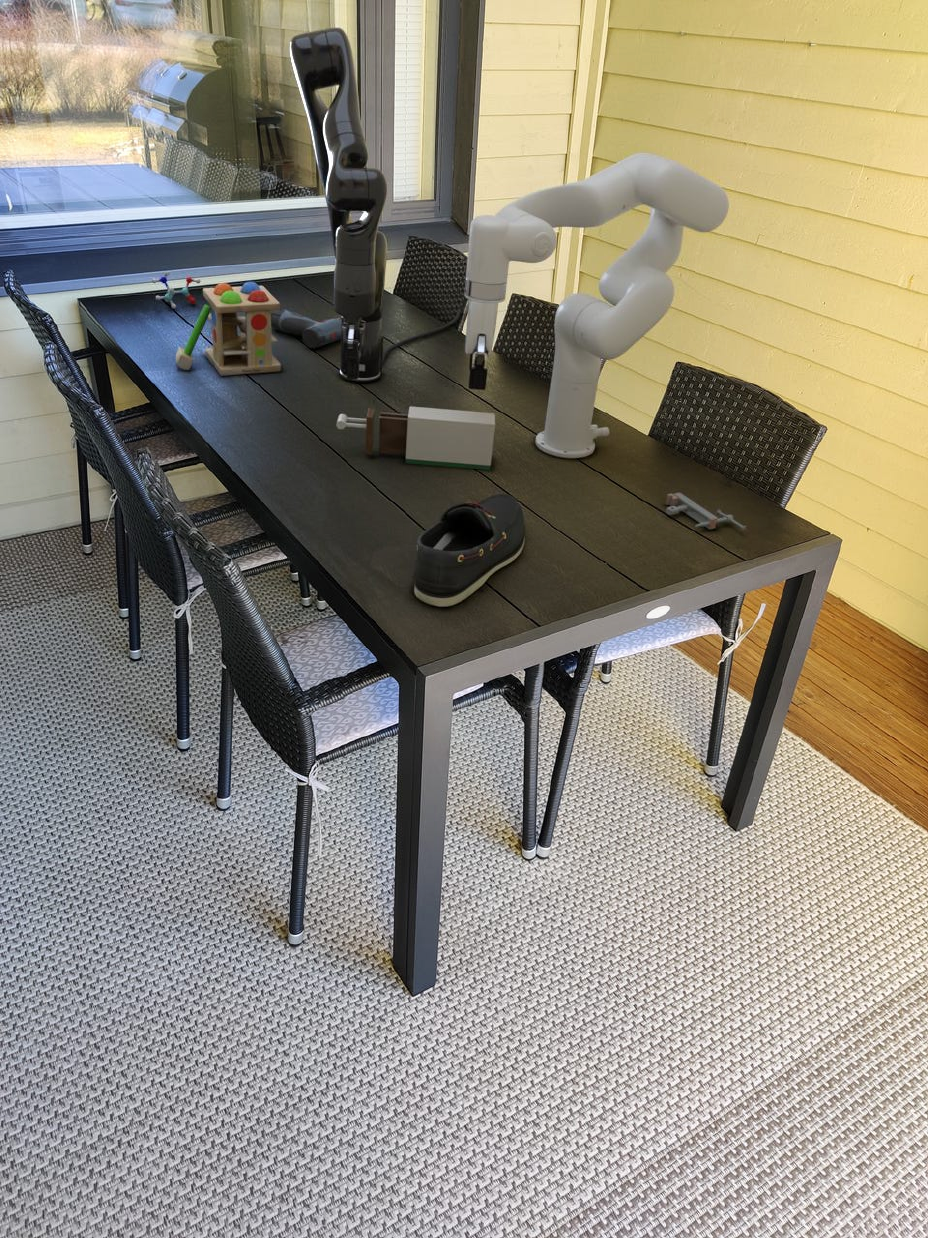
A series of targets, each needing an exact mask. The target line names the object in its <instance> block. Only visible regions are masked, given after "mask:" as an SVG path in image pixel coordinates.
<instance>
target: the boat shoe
mask: <svg viewBox="0 0 928 1238" xmlns="http://www.w3.org/2000/svg"><path fill="white" fill-rule="evenodd" d="M523 511H524V510H523V507H521V505H520V503H519V501H518V500H517V499H516V497H514V496H513V495H511V494H508V493H496V494H493V495H490V496H487V497H485V498H483V499H481V500H480V501H478V502H472V501H467V502H465V501H462V502H459V503H456V504H454V505H452V506H450V507H448V508H447V509H446V510H445V511H444V512H443V513H442V514H441V516H440V518H439V519H438V521H437V522H436V523H434V524H433V525H431V526H430V527H428V528H427V529H426V530H424V531H422V533H421V534H420V535H419V536H418V538H417V539H416V541H415V545H414V548H415V549H416V559H415V563H414V570H413V572H412V579H413V580H415V581H414V589H413V591H414V595H415V596H416V598H417V599H418V600H420V601H421V602H424V603H425V604H427V605H430V606H435V607H439V608H443V607H451V606H454V605H457V604H459V603H461V602H462V601H463V600H465V599H467V598H468V597H469V596H471V595H472V594H473V593H474V592H476V591H477V590H478V589H479V588H480V587H482V586H483V585H484V584H485V583H486V581H487V580H488V579H489V578H490V576H492V575H493V574H494V573H495V572H496V571H498V570H499V569H501V568H503V567H505V566H507V565H508V564H510V563H512V562H513V561H515V560H516V559H517V558H518V557H519V556H520V555H521V553H522V551H523V549H524V546H525V541H526V523H525V516H524V512H523Z"/></svg>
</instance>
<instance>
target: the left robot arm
mask: <svg viewBox="0 0 928 1238" xmlns="http://www.w3.org/2000/svg"><path fill="white" fill-rule="evenodd" d="M289 53H290V60H291V64H292V68H293V72H294V75H295V79H296V82H297V86H298V89H299V92H300V96H301V100H302V103H303V107H304V110H305V113H306V117H307V121H308V126H309V131H310V134H311V135H310V136H311V140H312V145H313V150H314V157H315V161H316V164H317V165H316V167H317V170H318V175H319V178H320V182H321V185H322V190H323V193H324V194H323V195H324V198H325V202H326V207H327V212H328V219H329V227H330V233H331V234H330V235H331V241H332V248H333V254H334V259H335V263H334V271H333V310H334V312H335V313H336V314H337V315H340V318H341V338H340V369H339V376H340V377H341V378H342V380H345V381H348V382H352V383H359V384H360V383H361V384H364V383H365V384H366V383H367V384H369V383H373V382H376V381H378V380H380V378H381V375H382V374H383V363H384V361H385V359H386V357H387V355H388V354H389V353H390V352H391V351H393V350H395V349H396V348H399V347H401V346H403V345H406V344H407V343H411V342H413V341H416V340H419V339H422V338H425V337H428V336H431V335H433V334H436V333H439V332H441V331H444V330H446V329H447V328H449V327H451V326H453V325H454V324H455V323H456V322H458V320H459V319H460V316H462V314H463V312H462V310H461V309H457V312H456V315H455V318H453V319H452V320H451V321H448V322H447V323H446V324H444V325H442V326H439V327H437V328H435V329H431V330H429V331H426V332H423V333H420V334H415V335H414V336H411V337H408V338H405V339H403V340H401V341H399V342H396V343H394V344H392V345H390V346H389V347H387V348H386V349H385V350H384V335H383V334H382V323H383V299H384V298H383V297H384V291H385V285H386V284H385V282H386V280H385V279H386V271H387V269H386V268H387V260H388V259H387V258H388V243H387V238H386V236H385V234H384V233H383V232H382V231H379V230H378V229H379V225H380V221H381V218H382V214H383V211H384V209H385V205H386V202H387V198H388V192H389V191H388V190H389V188H388V186H389V185H388V181H387V178H386V176H385V174H384V173H383V172H382V171H381V169H379V168H376V167H366V166H367V165H368V163H369V162H368V161H369V150H368V146H367V142H366V138H365V137H366V136H365V134H364V129H363V125H362V120H361V114H360V113H361V112H360V101H359V91H358V90H359V89H358V82H357V81H358V79H357V73H356V66H355V61H354V60H355V59H354V55H353V50H352V46H351V43H350V39H349V37H348V35H347V33H346V32H345V30H344V29H343V28H341V27H328V28H323V29H318V30H312V31H308V32H303V33H298V34H296V35H294V36H292V37H291V39H290V42H289ZM337 86H338V88H337V90H336V92H335V94H334V97H333V98H332V101H331V103H330V104H329V106H327V105H326V103H325V101H324V100H323V99H322V97H321V96H320V93H319V90H322V89H328V88H333V87H337ZM352 212H354V213H355V212H356V213H360V212H361V213H362V214H361V217H360V218H359V219H357V220H355V221H353V220H352ZM460 310H461V311H460Z"/></svg>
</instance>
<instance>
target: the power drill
mask: <svg viewBox="0 0 928 1238" xmlns="http://www.w3.org/2000/svg"><path fill="white" fill-rule="evenodd" d="M271 328H274V329H276V330H278V331H281V332H284V333H288V334H290V335H296V336H300V337H302V341H303V343H304V344H305V346H306V347H308V348H309V349H316V348H319V347H322V346H325V345H328V344H330V343H333V342H336V341H338V340H341V317H338V318H331V319H324V320H322V321H320V322H319V321H316V320H314V319H312V318H309V317H306V316H304V315H302V314H300V313H297V312H293V311H291V310H288V309H283V308H280V310H271Z"/></svg>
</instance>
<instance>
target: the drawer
mask: <svg viewBox="0 0 928 1238" xmlns="http://www.w3.org/2000/svg"><path fill="white" fill-rule="evenodd" d="M375 414H376V413H375V408H368V410H367V414H366V418H358V417H349V416H348V415H347V414H345V413H340V414H339V415H338V417H337V421H336V428H337V429H338V430H344V429H345V428H346V427H347V428H356V429H357V428H358V429H359V428H360V429H365V455H369V456H371V455H372V454H373V450H374V445H375V444H374V443H375V442H374V441H375ZM408 414H409V413H398V412H397V413H396V412H385V411H380V416H379V428H378V429H379V431H378V453H379V454H380V453H382V454H393V455H405V456H406V444H407V425H408ZM364 423H365V424H364Z"/></svg>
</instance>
